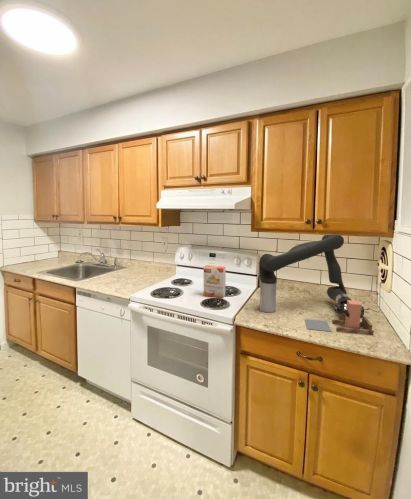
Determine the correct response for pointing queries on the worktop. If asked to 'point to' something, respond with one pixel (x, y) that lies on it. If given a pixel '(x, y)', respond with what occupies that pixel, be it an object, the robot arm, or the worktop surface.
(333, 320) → the frame
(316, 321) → the mat
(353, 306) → the red block
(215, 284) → the cracker box
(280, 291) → the worktop surface
